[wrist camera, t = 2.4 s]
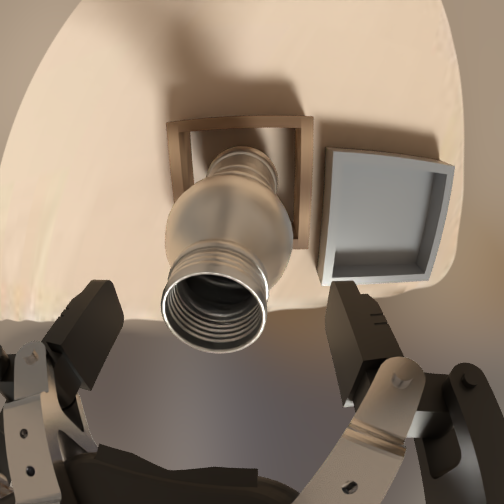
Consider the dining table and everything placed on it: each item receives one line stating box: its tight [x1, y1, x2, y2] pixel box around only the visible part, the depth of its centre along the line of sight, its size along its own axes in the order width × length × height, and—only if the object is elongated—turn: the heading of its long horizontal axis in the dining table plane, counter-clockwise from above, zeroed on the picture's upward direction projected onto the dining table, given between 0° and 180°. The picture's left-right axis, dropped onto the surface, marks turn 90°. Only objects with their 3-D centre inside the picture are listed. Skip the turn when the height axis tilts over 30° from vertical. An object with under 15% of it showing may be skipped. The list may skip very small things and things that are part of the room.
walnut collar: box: [166, 115, 313, 249], centre depth 25 cm, size 12×12×4 cm
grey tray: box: [317, 147, 455, 286], centre depth 26 cm, size 14×14×3 cm
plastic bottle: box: [161, 146, 293, 353], centre depth 18 cm, size 6×7×20 cm
